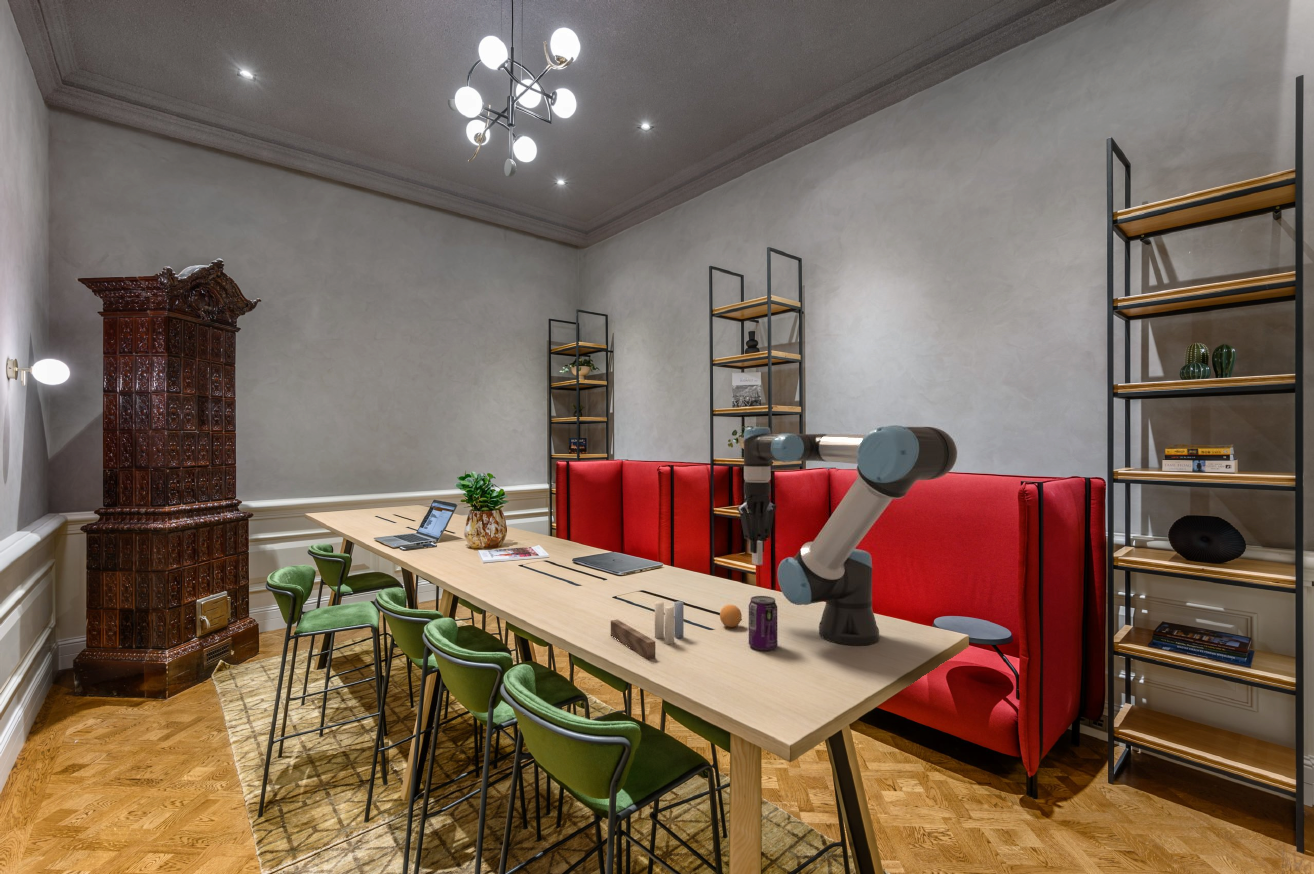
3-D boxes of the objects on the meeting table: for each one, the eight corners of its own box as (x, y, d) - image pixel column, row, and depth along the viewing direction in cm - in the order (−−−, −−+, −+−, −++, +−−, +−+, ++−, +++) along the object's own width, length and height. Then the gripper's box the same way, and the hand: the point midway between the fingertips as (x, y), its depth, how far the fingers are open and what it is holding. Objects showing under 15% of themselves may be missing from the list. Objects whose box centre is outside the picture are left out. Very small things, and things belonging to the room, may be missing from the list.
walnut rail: (655, 658, 140) (655, 641, 140) (648, 659, 139) (648, 642, 139) (617, 634, 157) (617, 619, 157) (610, 635, 156) (610, 620, 156)
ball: (746, 627, 162) (746, 606, 162) (728, 631, 159) (728, 609, 159) (732, 622, 168) (732, 600, 168) (715, 625, 164) (715, 603, 165)
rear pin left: (675, 643, 150) (675, 607, 150) (667, 644, 149) (667, 609, 149) (670, 640, 152) (670, 605, 152) (662, 642, 151) (662, 606, 151)
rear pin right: (665, 637, 154) (665, 603, 154) (657, 639, 153) (657, 604, 153) (660, 635, 156) (660, 600, 156) (653, 636, 155) (653, 602, 155)
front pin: (685, 637, 154) (685, 603, 154) (677, 639, 153) (677, 604, 153) (680, 634, 156) (680, 600, 157) (672, 636, 155) (672, 602, 155)
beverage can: (777, 653, 143) (777, 603, 143) (747, 650, 144) (747, 601, 145) (777, 643, 150) (777, 595, 150) (749, 641, 151) (749, 594, 152)
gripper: (766, 479, 175) (766, 559, 175) (730, 481, 168) (730, 563, 168) (783, 481, 169) (783, 563, 168) (747, 482, 162) (747, 568, 162)
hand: (757, 563), depth 168 cm, fingers closed
